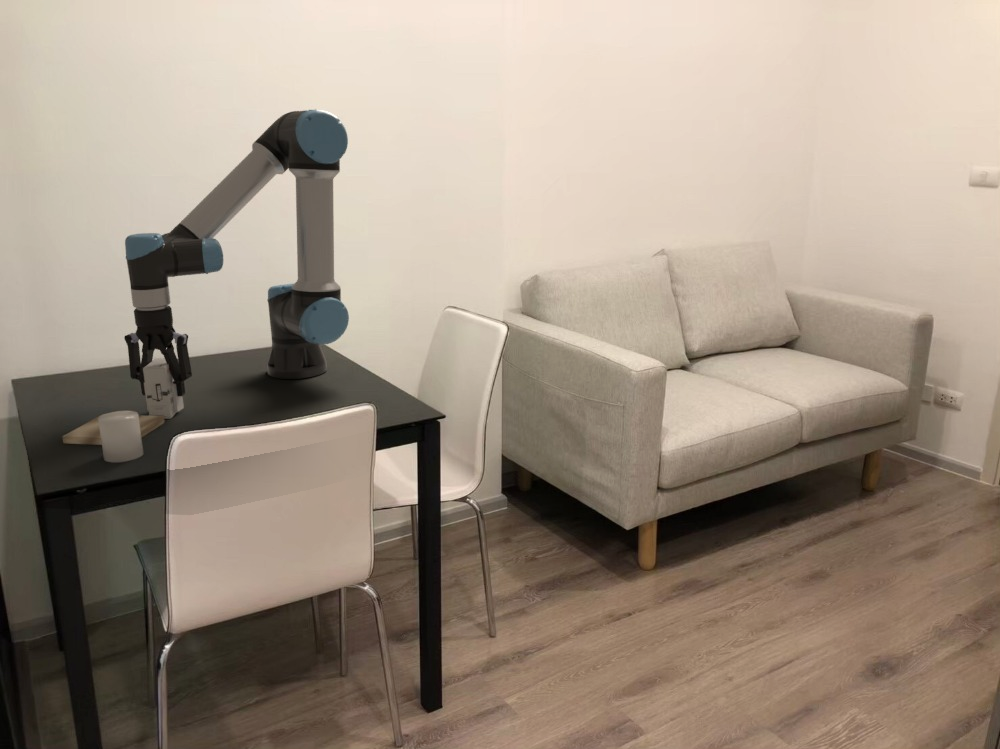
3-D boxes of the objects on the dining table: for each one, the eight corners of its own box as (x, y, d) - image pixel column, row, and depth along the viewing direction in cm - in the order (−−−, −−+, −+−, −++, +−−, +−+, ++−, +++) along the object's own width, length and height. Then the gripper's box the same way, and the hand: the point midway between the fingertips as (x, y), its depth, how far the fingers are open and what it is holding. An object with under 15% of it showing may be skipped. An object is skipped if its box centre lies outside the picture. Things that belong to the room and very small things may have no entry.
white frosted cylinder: (150, 449, 164) (145, 411, 162) (130, 463, 157) (125, 423, 155) (117, 448, 165) (111, 410, 162) (96, 461, 158) (90, 421, 156)
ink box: (160, 407, 189) (154, 357, 186) (183, 406, 190) (176, 356, 186) (148, 419, 181) (141, 367, 178) (172, 418, 181) (165, 366, 178)
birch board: (164, 422, 179) (163, 416, 179) (128, 445, 166) (127, 438, 165) (104, 420, 181) (103, 414, 181) (63, 443, 168) (62, 436, 167)
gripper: (201, 303, 181) (213, 405, 187) (121, 302, 183) (135, 403, 190) (184, 310, 174) (197, 416, 180) (101, 309, 176) (117, 413, 183)
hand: (165, 409), depth 185 cm, fingers closed on ink box, 6 cm apart
